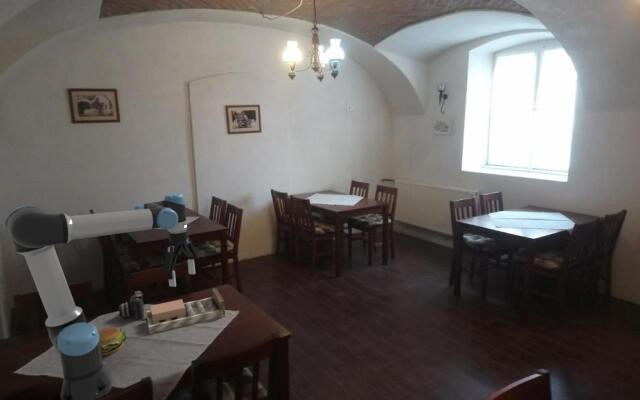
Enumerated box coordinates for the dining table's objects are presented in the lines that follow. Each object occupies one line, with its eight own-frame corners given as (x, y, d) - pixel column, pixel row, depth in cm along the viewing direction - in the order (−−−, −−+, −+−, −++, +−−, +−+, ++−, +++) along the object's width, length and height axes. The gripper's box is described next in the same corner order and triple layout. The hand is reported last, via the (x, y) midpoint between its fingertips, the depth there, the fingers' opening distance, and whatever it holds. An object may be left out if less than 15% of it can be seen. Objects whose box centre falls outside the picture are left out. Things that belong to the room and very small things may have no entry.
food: (91, 363, 159) (88, 344, 157) (87, 346, 170) (84, 329, 169) (129, 351, 166) (127, 333, 165) (124, 336, 178) (121, 319, 176)
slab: (153, 322, 182) (152, 314, 182) (151, 312, 191) (150, 305, 190) (185, 314, 188) (185, 307, 188) (182, 306, 197) (182, 299, 196)
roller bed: (149, 333, 179) (147, 317, 178) (147, 317, 194) (145, 302, 193) (225, 315, 193) (223, 300, 192) (217, 302, 208) (216, 288, 206)
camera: (120, 311, 202) (118, 292, 200) (144, 306, 206) (142, 287, 204) (120, 324, 189) (117, 303, 187) (146, 318, 193) (143, 298, 191)
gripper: (166, 240, 157) (171, 292, 161) (202, 223, 180) (206, 269, 184) (149, 239, 159) (155, 290, 163) (187, 223, 182) (192, 268, 186)
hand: (182, 279), depth 174 cm, fingers open, 13 cm apart
